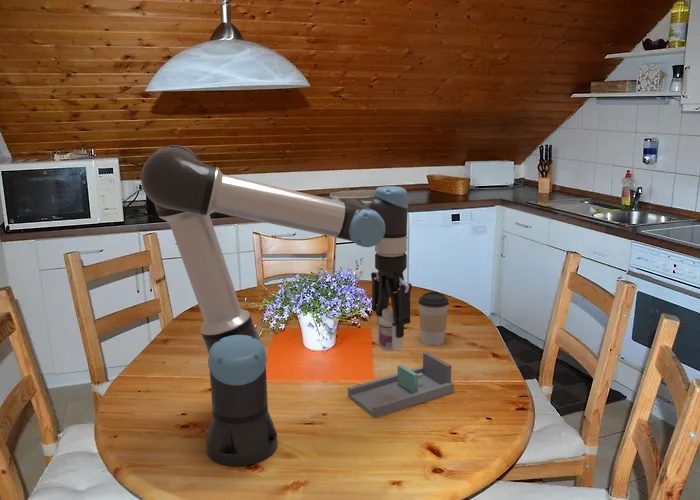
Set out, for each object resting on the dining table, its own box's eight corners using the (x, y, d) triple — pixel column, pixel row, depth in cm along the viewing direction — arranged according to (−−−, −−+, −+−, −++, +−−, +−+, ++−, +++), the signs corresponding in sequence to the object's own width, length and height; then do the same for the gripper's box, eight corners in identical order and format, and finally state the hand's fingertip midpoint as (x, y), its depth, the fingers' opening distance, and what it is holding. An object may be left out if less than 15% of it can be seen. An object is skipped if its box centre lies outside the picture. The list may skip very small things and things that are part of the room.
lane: (375, 417, 144) (375, 390, 142) (347, 396, 154) (347, 371, 152) (453, 392, 156) (454, 367, 154) (423, 374, 166) (423, 350, 165)
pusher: (413, 394, 152) (414, 375, 151) (397, 383, 158) (397, 365, 157) (430, 388, 155) (430, 370, 154) (413, 378, 161) (413, 360, 160)
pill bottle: (387, 341, 154) (388, 305, 151) (405, 346, 150) (405, 309, 148) (374, 348, 150) (374, 310, 147) (392, 353, 146) (393, 315, 144)
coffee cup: (447, 347, 184) (448, 300, 180) (417, 345, 185) (417, 298, 182) (447, 336, 193) (448, 290, 189) (418, 334, 194) (419, 289, 190)
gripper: (427, 258, 138) (425, 354, 144) (382, 243, 154) (381, 330, 159) (400, 263, 135) (399, 361, 140) (356, 247, 150) (357, 335, 156)
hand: (390, 344), depth 150 cm, fingers closed on pill bottle, 5 cm apart
